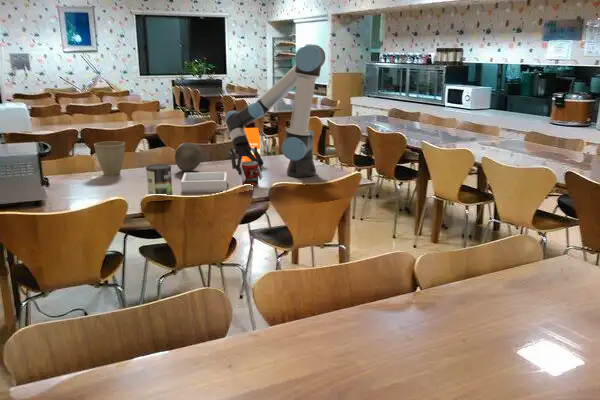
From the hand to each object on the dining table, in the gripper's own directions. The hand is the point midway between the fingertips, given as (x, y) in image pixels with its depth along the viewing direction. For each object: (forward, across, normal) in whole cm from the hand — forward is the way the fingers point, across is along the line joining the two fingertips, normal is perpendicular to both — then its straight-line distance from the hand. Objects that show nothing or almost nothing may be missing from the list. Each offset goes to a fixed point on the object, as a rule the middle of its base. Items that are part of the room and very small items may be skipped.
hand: (252, 179), depth 248 cm
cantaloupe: (-29, +18, -35) cm, 49 cm away
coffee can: (+4, +43, -2) cm, 43 cm away
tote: (-4, +20, -10) cm, 23 cm away
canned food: (0, 0, -5) cm, 5 cm away
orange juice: (-33, -19, -39) cm, 54 cm away
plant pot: (-36, +55, -42) cm, 78 cm away
